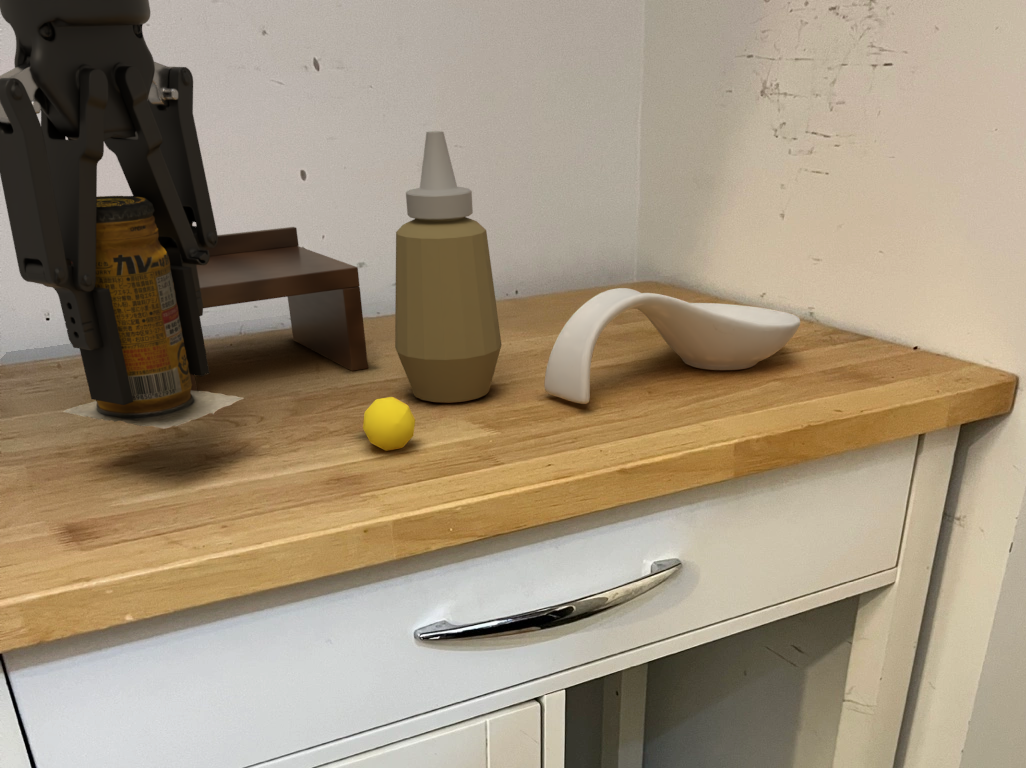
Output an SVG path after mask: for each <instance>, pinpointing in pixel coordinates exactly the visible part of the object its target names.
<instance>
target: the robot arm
mask: <svg viewBox="0 0 1026 768" xmlns="http://www.w3.org/2000/svg"><path fill="white" fill-rule="evenodd" d="M150 6H151V5H150V1H149V0H0V14H1V16H2V18H3V20H4V21H5V22H6V23H7V24H9V25H10V26H11V28H12V30H13V32H14V36H15V54H14V59H13V61H14V63H13V65H14V68H12V69H10V70H8V71H6V72H4V73H3V74H1V75H0V180H1V181H0V182H1V186H2V191H3V196H4V201H5V205H6V211H7V216H8V221H9V226H10V230H11V236H12V242H13V247H14V251H15V257H16V261H17V266H18V271H19V274H20V277H21V278H22V279H23V281H25V282H27V283H33V284H38V285H43V286H45V287H46V288H52V289H54V291H55V292H56V293H57V295H58V299H59V304H60V308H61V311H62V315H63V320H64V322H65V323H64V325H65V328H66V332H67V333H66V334H67V337H68V341H69V343H70V344H71V346H72V347H73V349H79V353H80V357H81V361H82V366H83V369H84V373H85V374H84V375H85V378H86V382H87V383H86V384H87V386H88V391H89V395H90V400H93V401H96V400H98V401H104V402H109V403H115V404H120V405H126V404H129V403H131V402H133V398H132V393H131V389H130V384H129V379H128V375H127V370H126V365H125V360H124V356H123V351H122V346H121V342H120V337H119V332H118V328H117V323H116V318H115V313H114V309H113V304H112V299H111V295H110V290H109V289H106V288H98V287H95V283H96V206H97V197H98V194H97V191H98V189H97V188H98V187H97V186H98V164H99V162H100V161H101V160H102V159H103V157H104V153H105V146H106V147H107V149H108V150H109V151H110V152H112V153H113V154H114V155H115V157H116V159H117V161H118V163H119V166H120V168H121V170H122V173H123V175H124V178H125V180H126V182H127V185H128V188H129V189H130V192H131V195H132V196H136V197H143V198H145V199H147V200H148V201H150V202H151V203H152V204H153V208H154V210H155V211H154V212H153V216H154V219H155V221H154V222H155V224H156V226H157V228H158V234H159V235H158V241H159V243H160V245H161V246H162V247H163V248H164V249H165V250H166V252H167V254H168V257H169V261H170V269H171V274H172V279H173V283H174V290H175V296H176V302H177V306H178V312H179V318H180V323H181V328H182V336H183V339H184V345H185V350H186V357H187V361H188V368H189V373H190V375H195V377H196V376H197V377H203V376H206V375H209V374H210V368H209V361H208V357H207V356H208V355H207V350H206V344H205V339H204V333H203V328H202V322H201V317H202V316H204V308H203V302H202V298H201V291H200V284H199V278H198V272H197V265H206V264H207V263H208V262H209V258H210V254H209V250H206V249H207V248H214V247H216V245H217V242H218V235H219V234H218V231H217V226H216V225H217V224H216V220H215V216H214V211H213V206H212V205H213V204H212V201H211V196H210V191H209V187H208V181H207V176H206V172H205V166H204V162H203V161H204V160H203V156H202V152H201V147H200V142H199V137H198V132H197V127H196V122H195V117H194V77H193V73H192V71H191V70H190V69H189V68H188V67H187V66H167V65H164V64H162V63H159V62H156V61H155V60H154V57H153V54H152V52H151V51H150V49H149V47H148V45H147V43H146V40H145V37H144V34H143V25H144V24H147V22H149V20H150V18H151V7H150ZM38 114H40V120H39V117H38ZM193 223H195V225H194V224H193ZM71 262H72V265H73V266H71Z"/></svg>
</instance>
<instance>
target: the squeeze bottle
mask: <svg viewBox="0 0 1026 768" xmlns="http://www.w3.org/2000/svg"><path fill="white" fill-rule="evenodd" d="M405 199H406V200H405V201H406V214H407V216H408V217H409V218H411V219H412V220H410V221H408V222H406V223H404V224H402V225H401V226H400V227H399V229H397V230H396V231H395V300H394V301H395V304H394V305H395V311H394V312H395V314H394V315H395V317H394V319H395V321H394V322H395V323H394V324H395V325H394V328H395V329H394V334H395V335H394V348H395V350H396V354H397V356H398V358H399V361H400V363H401V365H402V366H401V367H402V368H403V370H404V374H405V376H406V378H407V380H408V383H409V385H410V388H411V390H412V394H413V395H414V397H416V398H418V399H419V400H422V401H426V402H433V403H446V404H447V403H450V404H451V403H461V402H462V403H463V402H468V401H472V400H476V399H477V400H478V399H479V398H483V397H484V396H486V395H487V394H488V393H489V392H490V389H491V386H492V381H493V378H494V374H495V370H496V366H497V363H498V359H499V357H500V353H501V348H502V336H501V330H500V323H499V313H498V308H497V301H496V294H495V293H496V292H495V286H494V285H495V284H494V277H493V271H492V261H491V255H490V248H489V247H490V246H489V240H488V233H487V232H488V231H487V229H486V228H485V227H484V226H483V225H481V224H480V222H478V220H476V219H475V220H474V219H472V218H469V217H470V216H471V215H472V214H473V213H474V211H473V192H472V190H471V189H470V188H469V187H463V186H458V185H457V180H456V176H455V172H454V169H453V165H452V160H451V156H450V151H449V148H448V145H447V141H446V136H445V132H444V131H443V130H433V131H431V130H430V131H426V133H425V141H424V149H423V158H422V166H421V173H420V182H419V187H416V188H412V189H409V190H406V192H405Z"/></svg>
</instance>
